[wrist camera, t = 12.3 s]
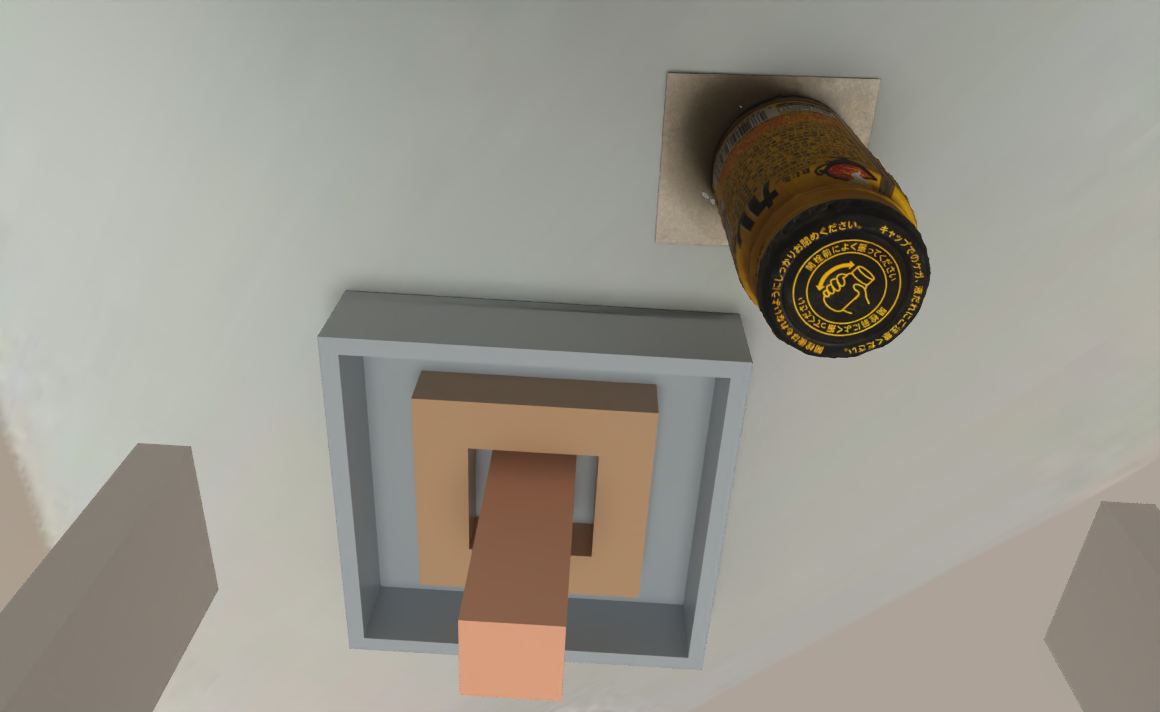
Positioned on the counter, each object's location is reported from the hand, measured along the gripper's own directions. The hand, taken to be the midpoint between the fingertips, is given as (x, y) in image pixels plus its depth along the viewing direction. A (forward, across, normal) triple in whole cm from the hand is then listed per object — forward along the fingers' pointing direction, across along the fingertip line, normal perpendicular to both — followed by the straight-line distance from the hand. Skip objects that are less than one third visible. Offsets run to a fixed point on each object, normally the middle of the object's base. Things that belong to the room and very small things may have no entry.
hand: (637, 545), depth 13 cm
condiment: (+27, +6, -2) cm, 28 cm away
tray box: (+27, -3, -18) cm, 32 cm away
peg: (+26, -3, -18) cm, 32 cm away
